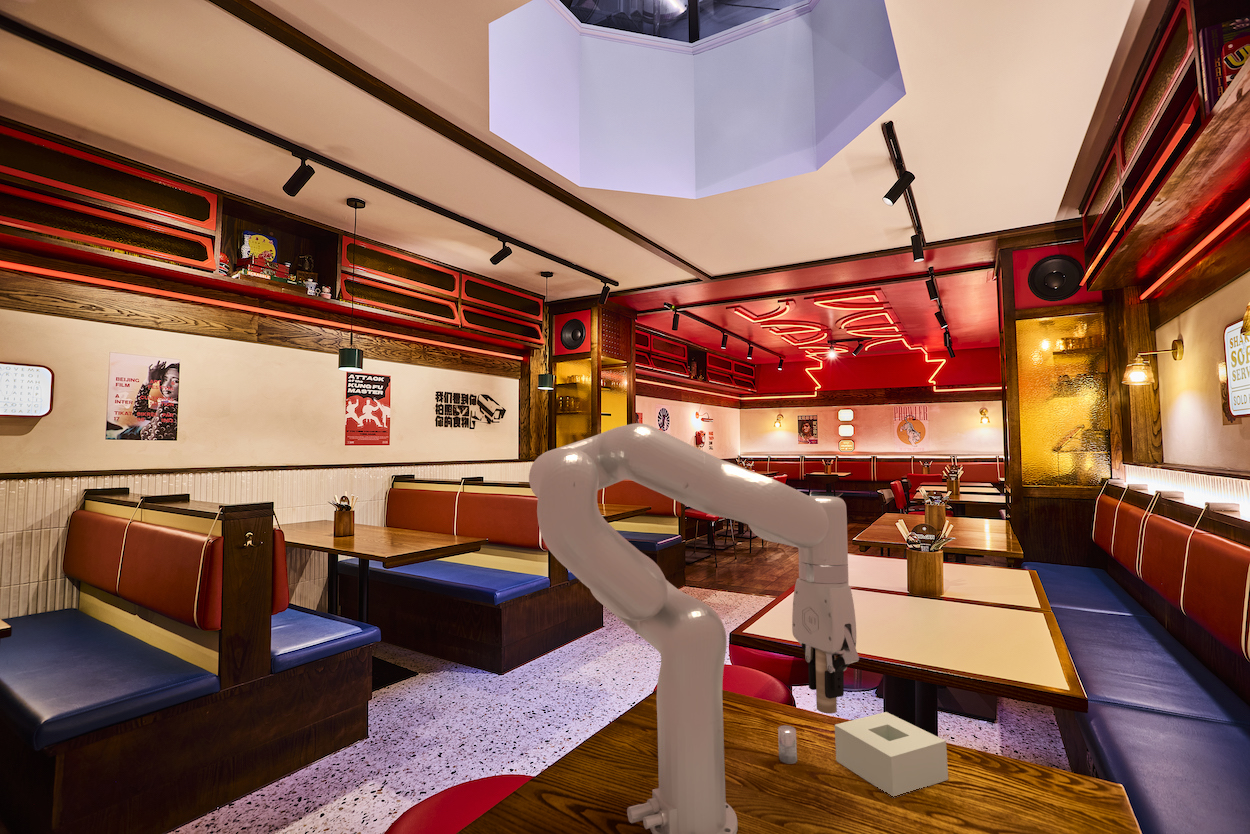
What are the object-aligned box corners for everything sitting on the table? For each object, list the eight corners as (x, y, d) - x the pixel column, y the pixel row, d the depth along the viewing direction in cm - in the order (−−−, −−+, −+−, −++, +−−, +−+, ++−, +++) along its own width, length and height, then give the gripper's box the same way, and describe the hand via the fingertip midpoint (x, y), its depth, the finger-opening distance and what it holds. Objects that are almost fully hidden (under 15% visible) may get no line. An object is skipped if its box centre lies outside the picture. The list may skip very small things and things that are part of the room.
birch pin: (825, 714, 88) (824, 634, 90) (812, 707, 91) (810, 629, 92) (841, 711, 90) (839, 632, 91) (827, 704, 92) (825, 627, 93)
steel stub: (786, 765, 98) (785, 734, 98) (775, 757, 100) (774, 727, 101) (800, 761, 99) (799, 731, 99) (789, 753, 102) (788, 724, 102)
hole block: (893, 797, 88) (891, 756, 88) (836, 760, 99) (834, 724, 99) (948, 779, 92) (946, 740, 93) (888, 746, 103) (886, 711, 104)
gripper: (772, 566, 98) (774, 678, 97) (842, 585, 83) (846, 717, 82) (807, 564, 101) (809, 672, 100) (881, 581, 86) (885, 708, 85)
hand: (826, 691), depth 91 cm, fingers closed on birch pin, 3 cm apart
